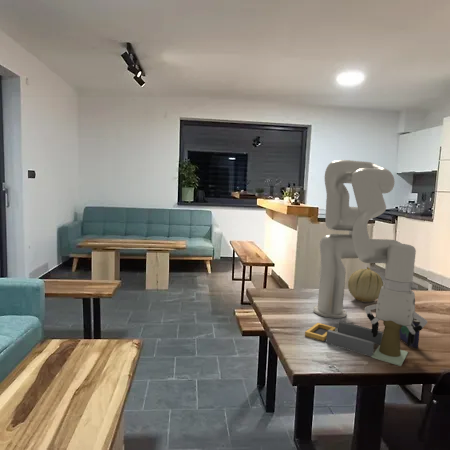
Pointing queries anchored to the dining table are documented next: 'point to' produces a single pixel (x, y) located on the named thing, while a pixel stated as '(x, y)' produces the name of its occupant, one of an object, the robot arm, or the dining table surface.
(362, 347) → the grey parallel walls
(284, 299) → the dining table surface
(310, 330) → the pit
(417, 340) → the flask
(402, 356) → the mat
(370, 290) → the cantaloupe
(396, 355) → the cork
